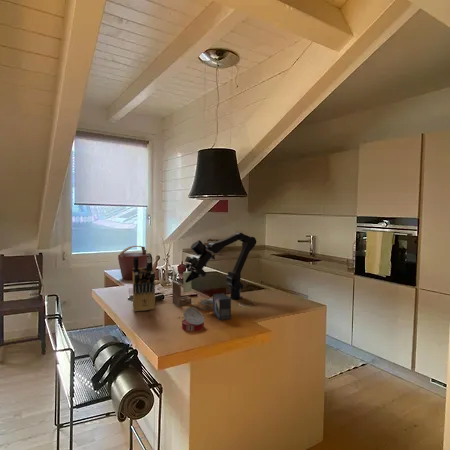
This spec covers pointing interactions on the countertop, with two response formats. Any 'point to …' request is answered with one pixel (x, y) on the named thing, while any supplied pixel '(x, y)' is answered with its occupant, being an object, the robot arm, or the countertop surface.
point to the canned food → (192, 320)
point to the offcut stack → (205, 304)
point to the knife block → (143, 285)
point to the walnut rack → (177, 296)
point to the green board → (187, 286)
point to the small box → (222, 306)
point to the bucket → (131, 262)
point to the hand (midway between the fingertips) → (185, 281)
